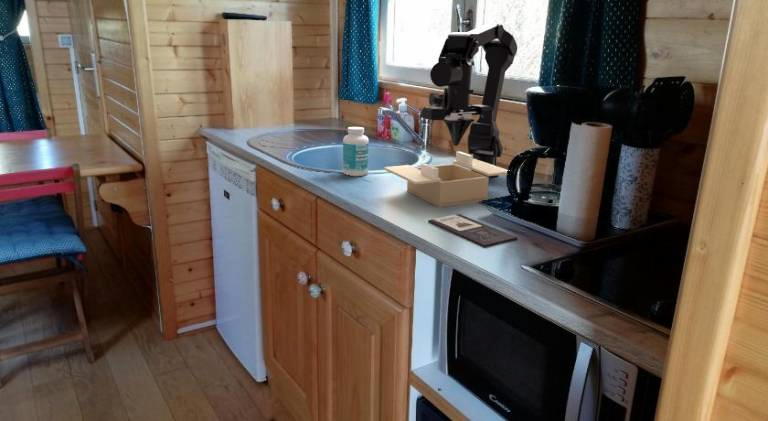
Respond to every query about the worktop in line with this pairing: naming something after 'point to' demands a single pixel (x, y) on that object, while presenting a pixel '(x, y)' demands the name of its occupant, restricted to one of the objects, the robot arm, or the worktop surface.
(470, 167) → the inner lid
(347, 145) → the pill bottle
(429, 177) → the outer lid
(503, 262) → the worktop surface
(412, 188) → the carton
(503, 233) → the chocolate bar
